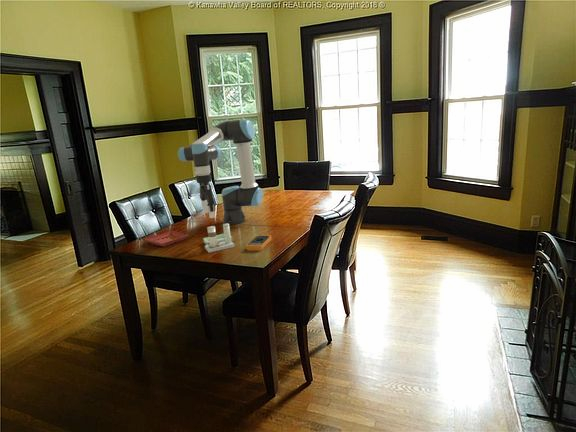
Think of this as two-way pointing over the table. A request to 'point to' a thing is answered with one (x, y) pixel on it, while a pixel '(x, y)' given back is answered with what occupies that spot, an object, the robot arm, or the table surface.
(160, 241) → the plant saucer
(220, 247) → the fuse panel
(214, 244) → the fuse
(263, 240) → the multimeter
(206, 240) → the parts tray
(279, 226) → the table surface
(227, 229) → the fuse
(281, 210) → the table surface
